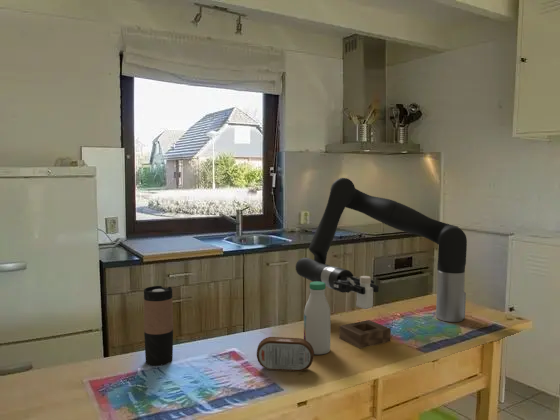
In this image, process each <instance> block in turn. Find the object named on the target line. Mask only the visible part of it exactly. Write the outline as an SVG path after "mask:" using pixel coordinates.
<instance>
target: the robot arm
mask: <svg viewBox="0 0 560 420" xmlns="http://www.w3.org/2000/svg"><path fill="white" fill-rule="evenodd" d="M346 208H347V209H350V210H354V211H356V212H360V213H362V214H364V215H366V216H368V217H370V218H372V219H373V220H376V221H378V222H380V223H382V224H384V225H385V226H389V227H390V228H392V229H396V230H398V231H401V232H405V233H408V234H413V235H417V236H420V237H423V238H425V239H427V240H429V241H431V242H433V243H435V244H437V245H438V246H437V248H438V251H437V267H436V268H437V271H436V274H437V275H436V301H435V302H436V305H435V308H436V309H435V318H436V319H438V320H440V321H444V322H450V323H451V322H452V323H458V322H463V321H464V319H466V299H467V297H466V296H467V293H466V292H465V279H466V278H465V277H466V276H465V275H466V264H467V246H468V245H467V244H468V240H467V235H466V233H465V232H464V231H463V229H462V228H460V227H458V225H457V226H456V225H455V224H450V223H446V222H443V221H439V220H436V219H434V218H431V217H429V216H427V215H425V214H424V213H421V212H420V211H418V210H416V209H414V208H412V207H410V206H407V205H405V204H404V203H401V202H399V201H396V200H394V199H393V200H392V199H389V198H385V197H380V196H373V195H369V194H368V193H365V192H363V191H361V190H359V189H357V188H356V187H355V184H354V183H353V181H352V180H351V179H350V178H346V177H340V178H337V179H336V180H334V182H333V183H332V184H331V186H330V192H329V196H328V200H327V204H326V207H325V210H324V212H323V214H322V217H321V219H320V222H319V224H318V226H317V228H316V230H315V232H314V234H313V236H312V239H311V242H310V244H309V247H308V251H310V253H311V254H312V255H313V259H312V258H309V257H301V258H299V259H298V261H296V264H295V271H296V273H297V274H298V276H300V277H302V278H304V279H307V280H308V281H310V282H316V281H318V282H324V283H325V284H326V287H327V288H328V289H332V290H334V291H337V292H339V293H343V294H344V293H347V294H349V293H356V294H357V293H360V294H365V287H363V286H360V277H358V276H356V275H354V274H353V273H352V271H350V270H348V269H345V268H342V267H340V266H333V265H330V264H327V263H326V262H327V256H328V253H329V250H330V247H331V245H332V243H333V242H334V237H335V234H336V232H337V229H338V226H339V225H338V224H339V223H340V220H341V217H342V214H344V213H343V212H344V210H345V209H346ZM370 287H372V288H373V293H378V292H379V289H380V288H379V285H378V284H376V283H375V280H373V279H371V283H370Z"/></svg>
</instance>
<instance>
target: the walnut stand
mask: <svg viewBox="0 0 560 420" xmlns="http://www.w3.org/2000/svg"><path fill="white" fill-rule="evenodd" d="M391 330H392V329H391V328H390V327H387V326H385V325H383V324H381V323H377V322H374V321H373V320H370V319H367V320H362V321H358V322H352V323H351V322H350V323H346V324H342V325H339V331H338V332H339V334H338V335H339V337H338V338H339V339H340V340H342V341H344V342H346V343H348V344H350V345H352V346H354V347H356V348H359V349H363V348H368V347H372V346H376V345H381V344H386V343H389V342H391V332H392V331H391Z"/></svg>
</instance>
